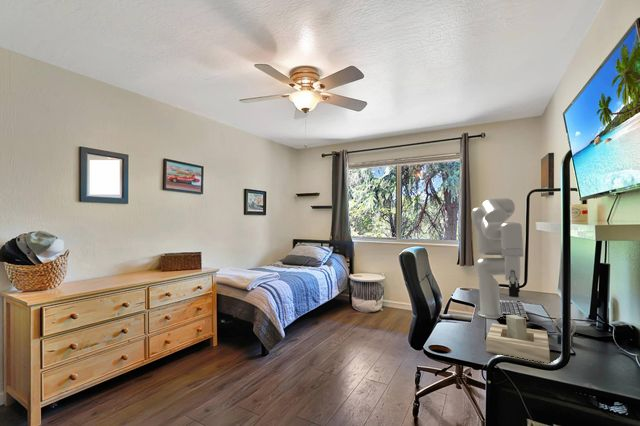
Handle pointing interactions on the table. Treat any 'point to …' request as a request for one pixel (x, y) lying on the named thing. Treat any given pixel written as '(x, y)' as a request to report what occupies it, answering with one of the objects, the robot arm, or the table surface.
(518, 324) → the skincare box
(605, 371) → the table surface
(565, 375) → the table surface
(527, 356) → the organizer
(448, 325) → the table surface
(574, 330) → the watch
